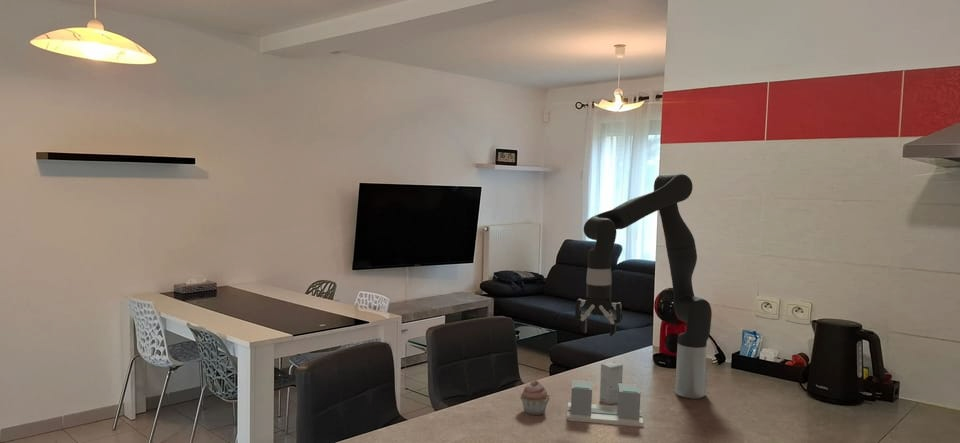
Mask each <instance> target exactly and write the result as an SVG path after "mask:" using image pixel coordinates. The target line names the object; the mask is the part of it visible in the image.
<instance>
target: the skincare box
mask: <svg viewBox="0 0 960 443" xmlns="http://www.w3.org/2000/svg"><path fill="white" fill-rule="evenodd" d="M623 366H624V365H623V364H621V363H619V362H615V361H612V362H611V361H609V362H604V363H601V364H600V383H599V384H600V385H599V386H600V387H599V401H600V402H602V403H604V404H607V405H610V404H616V403H617V400H618V383H623V370H624V367H623Z"/></svg>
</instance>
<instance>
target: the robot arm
mask: <svg viewBox="0 0 960 443" xmlns="http://www.w3.org/2000/svg"><path fill="white" fill-rule="evenodd" d="M692 192H693V182H692V179H691V178H690V177H689V176H688V175H686V174H684V173H676V172H675V173H663V174H660V175H658V176H656V178H655V180H654V183H653V191H652V192H649V193H645V194H642V195H640V196H637V197H634V198H631V199H629V200H627V201H625V202H623V203H621V204H619V205H617V206H616V207H614V208H612V209H610V210H607V211H604V212H601V213H598V214H596V215H593V216H592V217H590V218H589V219H587V221H586V222H585V223H584V225H583V233H584V235H585V237H587V238H588V239H590V240H592V241H593V240H594V241H595V245H594V248H590V250H588V252H587V271H586V280H585V281H586V293H585V294H586V295H585V296H586V299H582V298H578V299H577V300H576V301H575V309H574V311H575V312H574V313H575V314H574V317H575V318H574V319H578V320H580V331H581V332H582V333H583V334H586V333H587V332H588V320H587V318H588V317H589V316H590V315H591V314H592V315H593V316H601V317H603V316H605V317H606V319H607V320H608V321H609V336H610V337H613V336H615V334H616V333H617V324H621V322H622V321H623V307H622V306H623V305H622V302H621V301H619V302H613V301H612V269H611V268H612V253H613V250H614V246H615V242H616V238H617V230H624V229H625V228H628V227H629V226H631V225H633V224H635V223H636V222H639V221H640V220H641V219H643V218H645V217H647V216H649V215H651V214H653V213H656V212H657V211H658V212H659V216H660V220H661V224H662V230H663V235H664V239H665V248H666V254H667V260H668V264H669V270H670V276H671V284H672V296H673V308H674V314H675V315H676V318H678V319H679V320H680V321H681V322H684V323H686V330H685V332H681V333H679V334H678V336H677V345H676V346H677V348H676V349H677V350H676V370H675V372H676V373H675V388H674V389H675V392H674V393H675V394H676V395H677V396H679V397H682V398H686V399H693V400H694V399H695V400H696V399H702V398H704V397H705V396H707V389H708V388H707V387H708V385H707V384H708V367H707V366H706V365H707V362H706V361H707V342H708V339H709V338H710V335H711V327H712V316H713V315H712V314H713V312H712V311H713V310H712V307H711V303H709V301H708V300H706V299H704V298H701V297H698V296H695V294H694V290H693V281H692V280H693V274H694V272H695V268H696V264H697V261H698V253H697V247H696V242H695V238H694V236H693V233H692V231H691V230H690V228H689V226H688V225H687V223H686V222H685V221H684V219H683V218H682V216H681V213H680V209H679V207H678V206H679V205H678V203H680V202H681V203H682V202H684V201H686V200H687V199H689V197H690V196H691V194H692ZM584 305H585V306H586V309H587V310H586V311H585V312H584V314H582V307H583V306H584ZM612 307H613V309H614V310H615V312H616V313H615V314H616V315H615V316H616V317H615V316H614V315H613V312H612V310H611V309H612Z"/></svg>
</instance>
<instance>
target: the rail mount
mask: <svg viewBox="0 0 960 443" xmlns="http://www.w3.org/2000/svg"><path fill="white" fill-rule="evenodd" d="M639 386H640V385H639V384H635V383H632V384H631V383H623V382H622V383H618V400H617V402H616V403H617V404H616V405H609V404H607V405H606V404H595V403H594V404H593V402H592V401H593V400H592V398H593V382H592V380H583V379H581V380H580V379H572V380H571V397H570V398H571V399H570V402H567V415H566V416H567V417H566V418H567V419H566V420H567V421H570V422H571V421H572V422H583V423H595V424H605V425H616V426H626V427H627V426H628V427H638V428H639V427H641V428H643V427H644V419H643V414H642V410H641V389H640V387H639Z"/></svg>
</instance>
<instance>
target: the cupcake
mask: <svg viewBox="0 0 960 443" xmlns="http://www.w3.org/2000/svg"><path fill="white" fill-rule="evenodd" d="M519 399H520V400H521V402H522V407H523V411H524V413H525V414H528V415H531V416H540V415H544V413H545V412H546V408H547V405H548V402H550V399H551V398H550V395H549V394H548V391H547V389H546V387H544V385H543V383H542V382H540V381H539V380H535V379H534V380H532V381H531V382H530V383H529V384H526V385H525V387H524V389H523V391H522V393H521V394H520V396H519Z"/></svg>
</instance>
